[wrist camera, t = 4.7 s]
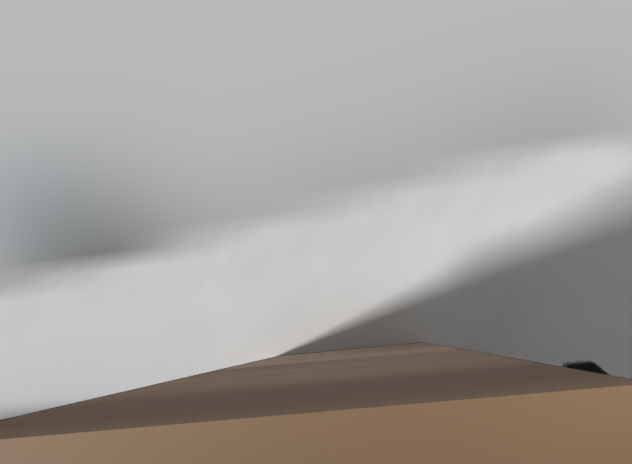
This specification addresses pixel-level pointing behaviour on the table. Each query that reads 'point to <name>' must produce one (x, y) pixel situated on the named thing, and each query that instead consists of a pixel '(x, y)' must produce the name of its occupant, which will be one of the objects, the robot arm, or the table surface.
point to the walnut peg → (344, 414)
